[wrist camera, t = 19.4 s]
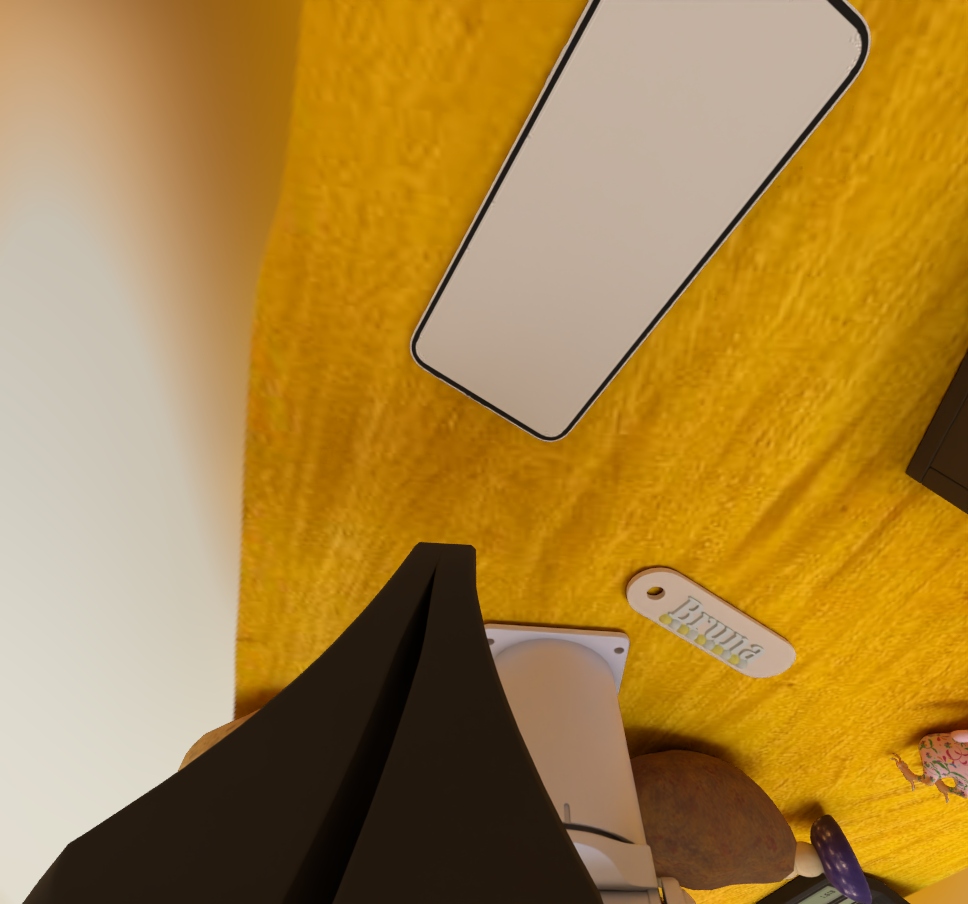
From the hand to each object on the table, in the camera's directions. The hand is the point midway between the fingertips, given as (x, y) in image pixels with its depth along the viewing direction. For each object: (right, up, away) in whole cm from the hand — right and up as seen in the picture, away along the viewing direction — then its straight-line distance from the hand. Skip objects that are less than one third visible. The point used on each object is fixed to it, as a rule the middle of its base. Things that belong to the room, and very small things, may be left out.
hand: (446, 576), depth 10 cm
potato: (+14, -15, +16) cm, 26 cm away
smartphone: (+5, +11, +5) cm, 13 cm away
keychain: (+13, -6, +13) cm, 19 cm away
